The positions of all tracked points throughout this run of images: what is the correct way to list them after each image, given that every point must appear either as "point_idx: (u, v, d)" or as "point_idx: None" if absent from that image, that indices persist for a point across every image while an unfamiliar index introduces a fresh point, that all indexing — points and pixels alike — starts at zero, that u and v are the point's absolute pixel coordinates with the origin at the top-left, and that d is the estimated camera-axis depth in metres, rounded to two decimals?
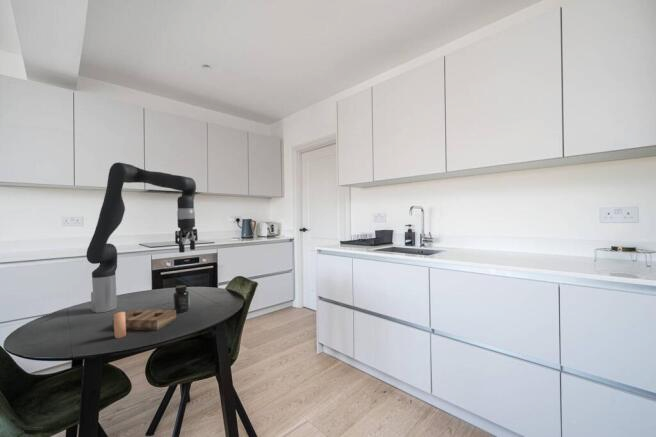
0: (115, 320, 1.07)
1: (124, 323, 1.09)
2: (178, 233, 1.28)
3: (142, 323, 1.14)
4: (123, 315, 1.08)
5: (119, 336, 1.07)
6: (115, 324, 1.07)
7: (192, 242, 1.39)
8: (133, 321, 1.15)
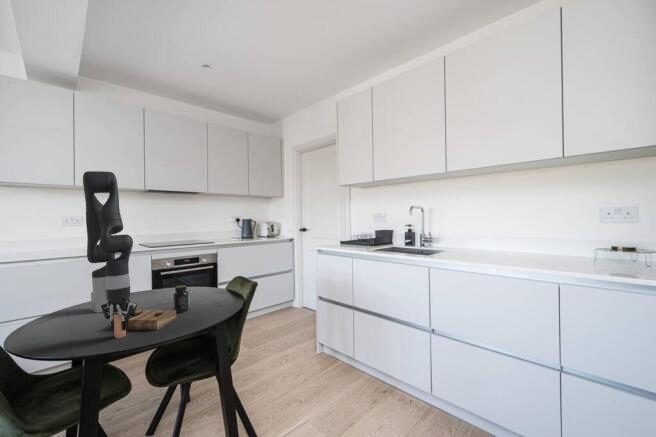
0: (115, 320, 1.07)
1: None
2: (134, 307, 1.08)
3: (142, 323, 1.14)
4: None
5: (119, 336, 1.07)
6: (115, 324, 1.07)
7: None
8: (133, 321, 1.15)
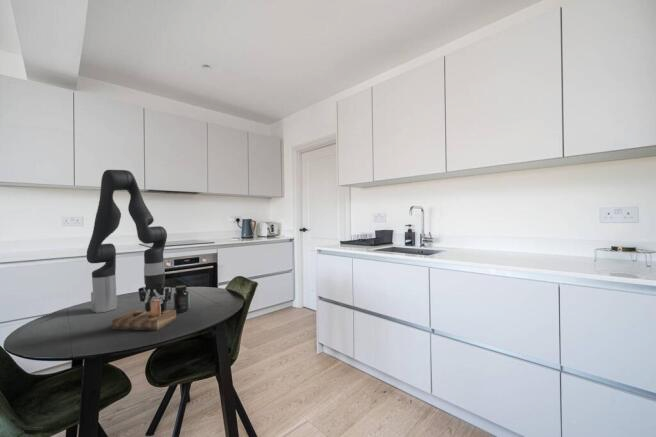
0: (152, 307, 1.18)
1: (159, 310, 1.20)
2: (170, 290, 1.19)
3: (142, 323, 1.14)
4: (159, 302, 1.20)
5: None
6: (152, 310, 1.18)
7: (149, 302, 1.20)
8: (133, 321, 1.15)
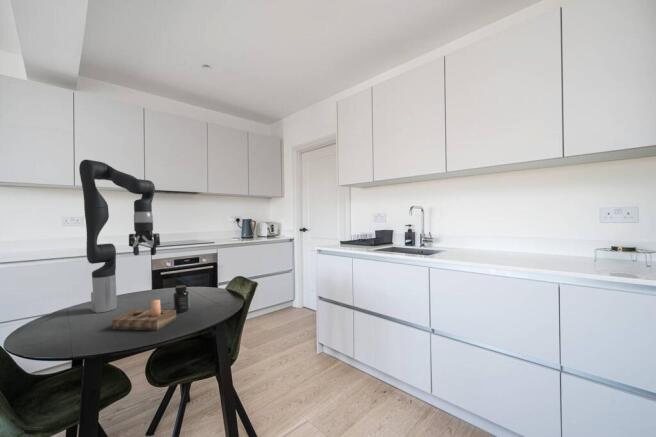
0: (152, 307, 1.18)
1: (159, 309, 1.20)
2: (158, 235, 1.32)
3: (142, 323, 1.14)
4: (159, 302, 1.20)
5: None
6: (152, 310, 1.18)
7: (137, 247, 1.33)
8: (133, 321, 1.15)
